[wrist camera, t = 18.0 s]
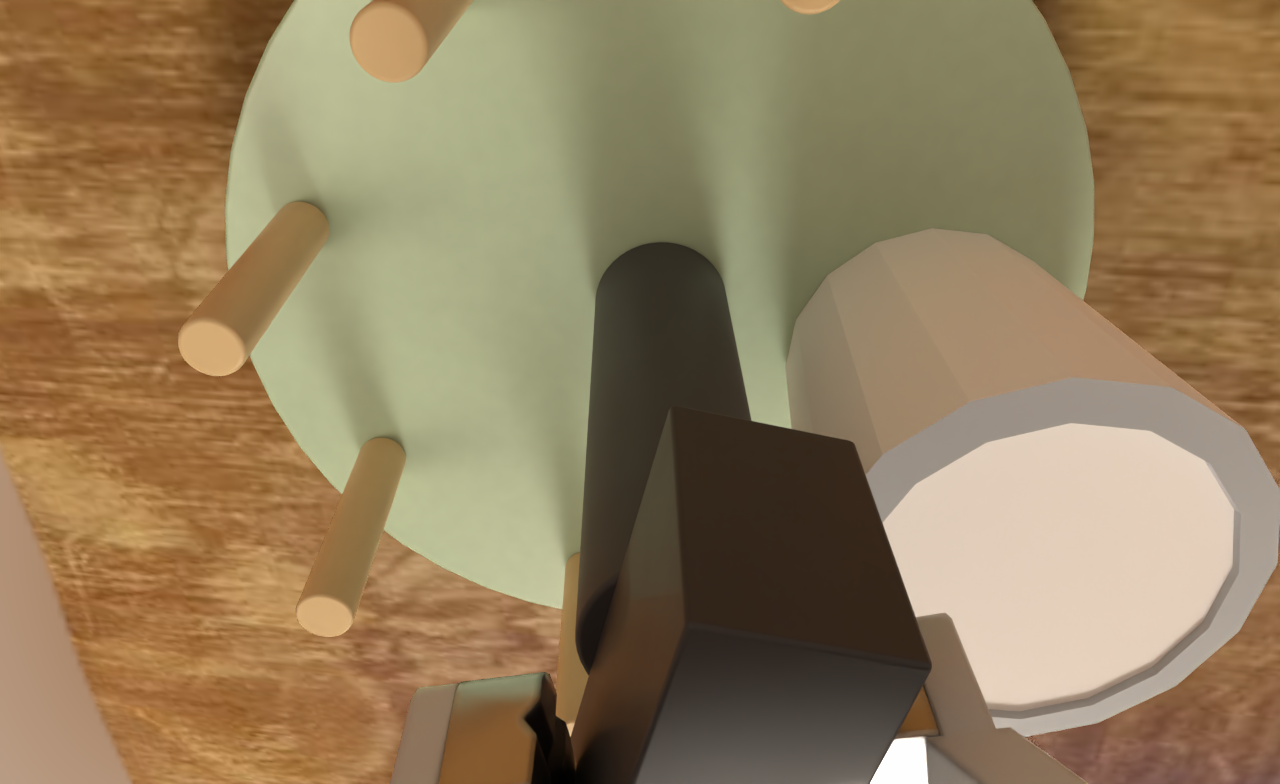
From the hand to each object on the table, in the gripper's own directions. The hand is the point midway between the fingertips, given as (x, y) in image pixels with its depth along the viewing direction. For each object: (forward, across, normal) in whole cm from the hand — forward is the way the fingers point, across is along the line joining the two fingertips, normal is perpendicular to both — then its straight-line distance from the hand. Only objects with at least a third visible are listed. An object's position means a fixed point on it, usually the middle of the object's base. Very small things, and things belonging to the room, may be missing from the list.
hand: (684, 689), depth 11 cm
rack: (+11, 0, 0) cm, 11 cm away
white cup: (+10, -5, +2) cm, 12 cm away
